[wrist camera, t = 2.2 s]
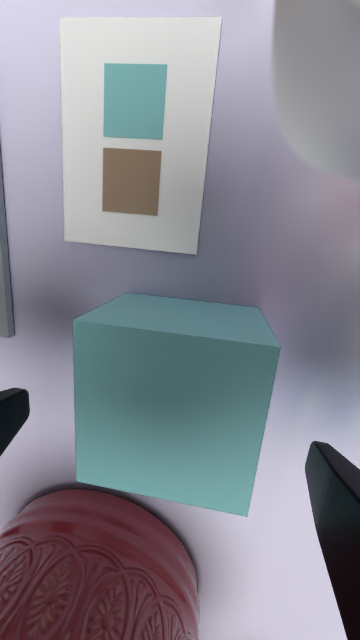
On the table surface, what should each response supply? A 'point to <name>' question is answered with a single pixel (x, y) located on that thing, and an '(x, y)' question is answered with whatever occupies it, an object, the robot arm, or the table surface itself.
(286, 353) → the table surface
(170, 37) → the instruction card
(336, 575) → the robot arm
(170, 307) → the teal block
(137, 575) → the canister
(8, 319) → the mat
